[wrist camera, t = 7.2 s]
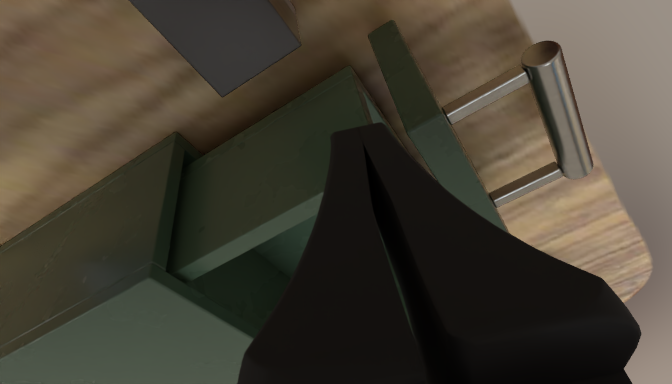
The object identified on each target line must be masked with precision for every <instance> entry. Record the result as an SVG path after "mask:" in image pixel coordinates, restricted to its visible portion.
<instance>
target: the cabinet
mask: <svg viewBox="0 0 672 384" xmlns="http://www.w3.org/2000/svg"><path fill="white" fill-rule="evenodd" d="M202 156H203V155H202V154H201V153H200V152H199V151H197V150H196V149H195V148H194V147H193V146H192V145H191V144H190V143H188V142H187V141H186V140H185V139H184V138H183V137H182V136H181V135H179V134H178V133H177V132H175V133H173V134H172V135H170V136H169V137H167V138H166V139H164V140H163V141H161V142H159V143H158V144H156V145H155V146H153V147H152V148H150V149H149V150H147V151H146V152H144V153H143V154H141V155H140V156H138V157H136V158H135V159H133V160H132V161H130V162H129V163H127V164H126V165H124V166H123V167H121V168H120V169H118V170H117V171H115V172H113V173H112V174H110V175H109V176H107V177H106V178H104V179H103V180H101V181H100V182H98V183H97V184H95V185H94V186H92V187H91V188H89V189H87V190H86V191H84V192H83V193H81V194H80V195H78V196H77V197H75V198H74V199H72V200H71V201H69V202H68V203H66V204H64V205H63V206H61V207H60V208H58V209H57V210H55V211H54V212H52V213H51V214H49V215H48V216H46V217H45V218H43V219H42V220H40V221H38V222H37V223H35V224H34V225H32V226H31V227H29V228H28V229H26V230H25V231H23V232H22V233H20V234H19V235H17V236H15V237H14V238H12V239H11V240H9V241H8V242H6V243H5V244H3V245H2V246H0V384H237V382H238V377H239V372H240V368H241V364H242V359H243V356H244V353H245V351H246V349H247V348H248V347H249V345H250V344H251V342H252V341H253V339H254V338H255V336H256V335H257V333H258V332H259V331H260V329H258V328H256V327H255V326H253V325H252V324H250V323H248V322H247V321H245V320H243V319H242V318H240V317H239V316H237V315H235V314H234V313H232V312H231V311H229V310H227V309H226V308H224V307H222V306H221V305H219V304H218V303H216V302H214V301H213V300H211V299H210V298H208V297H206V296H205V295H203V294H201V293H200V292H198V291H197V290H195V289H193V288H192V287H190V286H188V285H187V284H185V283H184V282H182V281H180V280H179V279H177V278H176V277H174V276H172V275H171V274H169V273H167V272H166V268H167V262H168V255H169V249H170V242H171V236H172V230H173V223H174V217H175V210H176V204H177V198H178V191H179V185H180V178H181V172H182V169H183V168H184V167H186V166H188V165H189V164H191V163H193V162H194V161H196V160H197V159H199V158H201V157H202Z"/></svg>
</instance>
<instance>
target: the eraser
mask: <svg viewBox="0 0 672 384" xmlns="http://www.w3.org/2000/svg"><path fill="white" fill-rule="evenodd" d="M129 1H130V2H131V3H132V4H133V5H134V6H135V7H136V8H137V9H138V10H139V11H140V12H141V14H142V15H143V16H144V17H145V18H146V19H147V20H148V21H149V22H150V23H151V24H152V25H153V26H154V27H155V28H156V29H157V30H158V31H159V32H160V33H161V34H162V35H163V36H164V37H165V38H166V40H167V41H168V42H169V43H170V44H171V45H172V46H173V47H174V48H175V49H176V50H177V51H178V52H179V53H180V54H181V55H182V56H183V57H184V58H185V59H186V60H187V61H188V62H189V63H190V64H191V66H192V67H193V68H194V69H195V70H196V71H197V72H198V73H199V74H200V75H201V76H202V77H203V78H204V79H205V80H206V81H207V82H208V83H209V84H210V85H211V86H212V87H213V88H214V89H215V90H216V92H217V93H218V94H219V95H220V96H221V97H224V96H226V95H227V94H229V93H230V92H232V91H233V90H235V89H236V88H238V87H239V86H241V85H242V84H244V83H245V82H247V81H248V80H250V79H252V78H253V77H255V76H256V75H258V74H259V73H261V72H262V71H264V70H265V69H267V68H268V67H270V66H271V65H273V64H274V63H276V62H277V61H279V60H281V59H282V58H284V57H285V56H287V55H288V54H290V53H291V52H293V51H294V50H296V49H297V48H299V47H300V46H301V39H300V34H299V28H298V22H297V17H296V12H295V8H294V6H293V5H292V3H291V2H290V1H289V0H129Z"/></svg>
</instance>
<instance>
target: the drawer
mask: <svg viewBox="0 0 672 384" xmlns="http://www.w3.org/2000/svg"><path fill="white" fill-rule="evenodd" d="M368 38H369V41H370V43H371V46H372V48H373V51H374V53H375V56H376V58H377V61H378V63H379V66H380V68H381V71H382V73H383V76H384V78H385V81H386V83H387V86H388V88H389V90H390V93H391V95H392V98H393V100H394V103H395V105H396V108H397V110H398V113H399V115H400V118H401V120H402V123H403V125H404V128H405V130H406V133H407V134H408V136H409V138H410V139H411V141H412V142H413V144H414V145H415V147H416V148H417V150H418V151H419V153H420V155H421V156H422V158H423V159H424V161H425V162H426V164H427V165H428V167H429V168H430V170H431V171H432V173H433V175H434V176H435V178H436V179H437V181H438V182H439V183H440V184H441V185H442V186H443V187H444V188H445V189H447V190H448V191H449V192H450V193H451V194H453V195H454V196H455V197H456V198H458V199H459V200H460V201H461V202H463V203H464V204H465V205H467V206H468V207H469V208H471V209H472V210H474V211H475V212H476V213H478V214H479V215H481V216H482V217H484V218H485V219H487V220H488V221H490V222H491V223H493V224H494V225H496V226H497V227H499V228H501V229H502V230H504V231H506V232H508V233H509V231H508V229H507V227H506V225H505V223H504V221H503V220H502V218H501V216H500V214H499V212H498V210H497V207H499V206H502V205H504V204H506V203H508V202H510V201H512V200H514V199H516V198H518V197H521V196H523V195H525V194H527V193H529V192H531V191H533V190H535V189H537V188H540V187H542V186H544V185H546V184H548V183H550V182H552V181H554V180H556V179H559V178H561V177H562V176H564V177H566V178H568V179H580V178H583V177H585V176H587V175H588V174H589V173H590V172H591V170H592V168H593V161H592V157H591V154H590V150H589V147H588V143H587V139H586V136H585V132H584V129H583V125H582V121H581V118H580V114H579V111H578V107H577V103H576V100H575V96H574V92H573V89H572V85H571V82H570V78H569V74H568V71H567V67H566V64H565V60H564V56H563V53H562V49H561V47H560V45H559V44H558V43H556V42H554V41H542V42H539V43H536V44H534V45H532V46H530V47H529V48H528V49H527V50H526V51H525V52H524V53H523V55H522V57H521V63H522V66H523V67H522V66H521V65H518V66H516V67H514V68H512V69H510V70H509V71H507V72H505V73H503V74H501V75H500V76H498V77H496V78H494V79H492V80H491V81H489V82H487V83H485V84H484V85H482V86H480V87H478V88H476V89H475V90H473V91H471V92H469V93H467V94H466V95H464V96H462V97H460V98H458V99H457V100H455V101H453V102H451V103H449V104H448V105H446V106H444V107H441V105H440V104H439V102H438V100H437V98H436V96H435V94H434V93H433V91H432V89H431V87H430V85H429V83H428V82H427V80H426V78H425V76H424V74H423V72H422V71H421V69H420V67H419V65H418V63H417V62H416V60H415V58H414V56H413V54H412V52H411V51H410V49H409V47H408V45H407V43H406V41H405V40H404V38H403V36H402V34H401V32H400V30H399V29H398V27H397V25H396V23H395V21H394V20H390V21H389V22H387V23H386V24H384V25H382V26H381V27H379V28H378V29H376V30H375V31H373V32H371V33H370V34H369V35H368ZM528 83H529V86H530V89H531V91H532V94H533V97H534V100H535V103H536V105H537V108H538V111H539V114H540V117H541V119H542V122H543V125H544V128H545V131H546V133H547V136H548V139H549V142H550V145H551V147H552V150H553V153H554V156H555V159H556V161H557V163H556V162H552V163H550V164H548V165H546V166H544V167H542V168H540V169H538V170H536V171H534V172H532V173H529V174H527V175H525V176H523V177H521V178H519V179H517V180H515V181H513V182H511V183H509V184H507V185H505V186H503V187H501V188H499V189H497V190H494V191H492V192H490V193H488V191H487V190H486V188H485V186H484V184H483V182H482V180H481V179H480V177H479V175H478V173H477V171H476V169H475V168H474V166H473V164H472V162H471V160H470V159H469V157H468V155H467V153H466V151H465V149H464V148H463V146H462V144H461V142H460V140H459V138H458V137H457V135H456V133H455V131H454V129H453V127H452V126H451V125H452V124H454V123H456V122H458V121H460V120H461V119H463V118H465V117H467V116H469V115H471V114H473V113H474V112H476V111H478V110H480V109H482V108H484V107H485V106H487V105H489V104H491V103H493V102H495V101H497V100H498V99H500V98H502V97H504V96H506V95H508V94H509V93H511V92H513V91H515V90H517V89H519V88H521V87H522V86H524V85H526V84H528ZM378 122H382V123H383V124H385V125H386V126H387V128H388V129H389V130H390V132H391V133H392V134H393V136H394V137H395V138H396V139H397V141H398V142H399V143H400V144H401V145H402V146H403V148H404V149H405V150H406V148H405V147H404V145H403V144H402V142H401V141H400V139H399V138H398V136H397V135H396V133H395V132H394V130H393V129H392V127H391V126H390V124H389V123H388V121H387V120H386V118H385V117H384V115H383V114H382V112H381V111H380V109H379V108H378V106H377V105H376V103H375V102H374V100H373V99H372V97H371V96H370V94H369V93H368V92H367V90H366V89H365V87H364V86H363V84H362V83H361V81H360V80H359V78H358V77H357V75H356V74H355V72H354V71H353V69H352V68H351V66H347V67H346V68H344V69H342V70H341V71H339V72H338V73H336V74H334V75H333V76H331V77H329V78H328V79H326V80H325V81H323V82H321V83H320V84H318V85H317V86H315V87H313V88H312V89H310V90H309V91H307V92H305V93H304V94H302V95H300V96H299V97H297V98H296V99H294V100H292V101H291V102H289V103H288V104H286V105H284V106H283V107H281V108H280V109H278V110H276V111H275V112H273V113H271V114H270V115H268V116H267V117H265V118H263V119H262V120H260V121H259V122H257V123H255V124H254V125H252V126H251V127H249V128H247V129H246V130H244V131H242V132H241V133H239V134H238V135H236V136H234V137H233V138H231V139H230V140H228V141H226V142H225V143H223V144H222V145H220V146H218V147H217V148H215V149H213V150H212V151H210V152H209V153H207V154H205V155H204V156H202V157H201V158H199V159H197V160H196V161H194V162H193V163H191V164H189V165H188V166H186V167H184V168H183V169H182V172H181V178H180V185H179V191H178V198H177V204H176V210H175V217H174V223H173V230H172V236H171V242H170V249H169V255H168V262H167V268H166V272H167V273H169V274H171V275H172V276H174V277H176V278H177V279H179V280H180V281H182V282H184V283H185V284H187V285H188V286H190V287H192V288H193V289H195V290H197V291H198V292H200V293H201V294H203V295H205V296H206V297H208V298H210V299H211V300H213V301H214V302H216V303H218V304H219V305H221V306H222V307H224V308H226V309H227V310H229V311H231V312H232V313H234V314H235V315H237V316H239V317H240V318H242V319H243V320H245V321H247V322H248V323H250V324H252V325H253V326H255V327H256V328H258V329H261V328H262V326H263V325H264V323H265V322H266V320H267V319H268V317H269V316H270V314H271V312H272V311H273V309H274V307H275V306H276V304H277V302H278V300H279V299H280V297H281V295H282V293H283V292H284V290H285V288H286V286H287V285H288V283H289V281H290V279H291V277H292V275H293V273H294V271H295V269H296V267H297V265H298V263H299V261H300V258H301V256H302V254H303V252H304V250H305V247H306V245H307V242H308V240H309V237H310V235H311V232H312V229H313V226H314V223H315V221H316V218H317V214H318V211H319V207H320V204H321V200H322V197H323V193H324V189H325V184H326V179H327V174H328V169H329V162H330V153H331V140H330V136H331V135H332V134H333V132H336V131H341V130H346V129H350V128H355V127H360V126H364V125H369V124H374V123H378ZM406 151H407V150H406ZM407 152H408V151H407ZM379 232H380V231H379ZM509 234H510V233H509ZM380 235H381V234H380ZM381 238H382V237H381ZM382 242H383V240H382ZM383 245H384V242H383ZM384 248H385V245H384ZM385 251H386V255H387V258H388V261H389V264H390V267H391V271H392V274H393V277H394V280H395V283H396V286H397V289H398V292H399V295H400V298H401V301H402V304H403V307H404V310H405V313H406V316H407V319H408V322H409V324H410V320H409V316H408V312H407V309H406V305H405V301H404V298H403V295H402V292H401V289H400V286H399V283H398V280H397V278H396V275H395V272H394V269H393V267H392V264H391V261H390V259H389V256H388V253H387V250H386V248H385ZM410 327H411V324H410ZM411 330H412V328H411ZM412 333H413V332H412Z"/></svg>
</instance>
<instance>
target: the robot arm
mask: <svg viewBox="0 0 672 384" xmlns="http://www.w3.org/2000/svg"><path fill="white" fill-rule="evenodd" d="M330 140H331V153H330V162H329V169H328V174H327V179H326V184H325V189H324V193H323V197H322V200H321V204H320V207H319V211H318V214H317V218H316V221H315V223H314V226H313V229H312V232H311V235H310V237H309V240H308V242H307V245H306V247H305V250H304V252H303V254H302V256H301V258H300V261H299V263H298V265H297V267H296V269H295V271H294V273H293V275H292V277H291V279H290V281H289V283H288V285H287V286H286V288H285V290H284V292H283V293H282V295H281V297H280V299H279V300H278V302H277V304H276V306H275V307H274V309H273V311H272V312H271V314H270V316H269V317H268V319H267V320H266V322H265V323H264V325H263V326H262V328H261V329H260V331H259V332H258V333H257V335H256V336H255V338H254V339H253V341H252V342H251V344H250V345H249V347H248V348H247V349H246V351H245V353H244V356H243V359H242V364H241V368H240V372H239V377H238V382H237V384H632V382H631V381H630V379H629V377H628V376H627V374H626V372H625V371H624V367H625V366H626V364H627V362H628V361H629V359H630V358H631V356H632V354H633V353H634V351H635V349H636V348H637V345H638V342H639V339H640V336H641V331H640V328H639V325H638V323H637V322H636V320H635V319H634V317H633V316H632V314H631V313H630V312H629V310H628V309H627V307H626V306H625V305H624V303H623V302H622V301H621V300H620V298H619V297H618V296H617V295H616V294H615V293H614V291H613V290H612V289H611V288H610V287H609V286H608V284H607V283H606V282H605V281H604V280H603V279H602V278H600V277H598V276H595V275H593V274H591V273H588V272H586V271H584V270H581V269H579V268H577V267H574V266H572V265H570V264H567V263H565V262H563V261H560V260H558V259H556V258H554V257H552V256H550V255H548V254H546V253H544V252H542V251H540V250H538V249H536V248H534V247H532V246H530V245H528V244H526V243H525V242H523V241H521V240H520V239H518V238H516V237H514V236H513V235H511V234H509V233H508V232H506V231H504V230H502V229H501V228H499V227H497V226H496V225H494V224H493V223H491V222H490V221H488V220H487V219H485V218H484V217H482V216H481V215H479V214H478V213H476V212H475V211H474V210H472V209H471V208H469V207H468V206H467V205H465V204H464V203H463V202H461V201H460V200H459V199H458V198H456V197H455V196H454V195H453V194H451V193H450V192H449V191H448V190H447V189H445V188H444V187H443V186H442V185H441V184H440V183H439V182H437V181H436V180H435V179H434V178H433V177H432V176H431V175H430V174H429V173H428V172H427V171H426V170H425V169H424V168H423V167H422V166H421V165H420V164H419V163H418V162H417V161H416V160H415V159H414V158H413V157H412V156H411V155H410V154H409V153H408V152H407V151H406V150H405V149H404V148H403V146H402V145H401V144H400V143H399V142H398V141H397V139H396V138H395V137H394V136H393V134H392V133H391V132H390V130H389V129H388V128H387V126H386V125H385V124H383V123H382V122H378V123H374V124H369V125H364V126H360V127H355V128H350V129H346V130H341V131H336V132H333V134H332V135H331V136H330ZM379 231H380V232H379ZM380 234H381V235H380ZM381 237H382V238H381ZM382 240H383V242H384V245H385V248H386V250H387V253H388V256H389V259H390V261H391V264H392V267H393V269H394V272H395V275H396V278H397V280H398V283H399V286H400V289H401V292H402V295H403V298H404V301H405V305H406V309H407V312H408V316H409V320H410V324H411V327H410V324H409V322H408V319H407V316H406V313H405V310H404V307H403V304H402V301H401V298H400V295H399V292H398V289H397V286H396V283H395V280H394V277H393V274H392V271H391V267H390V264H389V261H388V258H387V255H386V251H385V248H384V245H383V242H382ZM411 328H412V330H411ZM412 332H413V333H412Z"/></svg>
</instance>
